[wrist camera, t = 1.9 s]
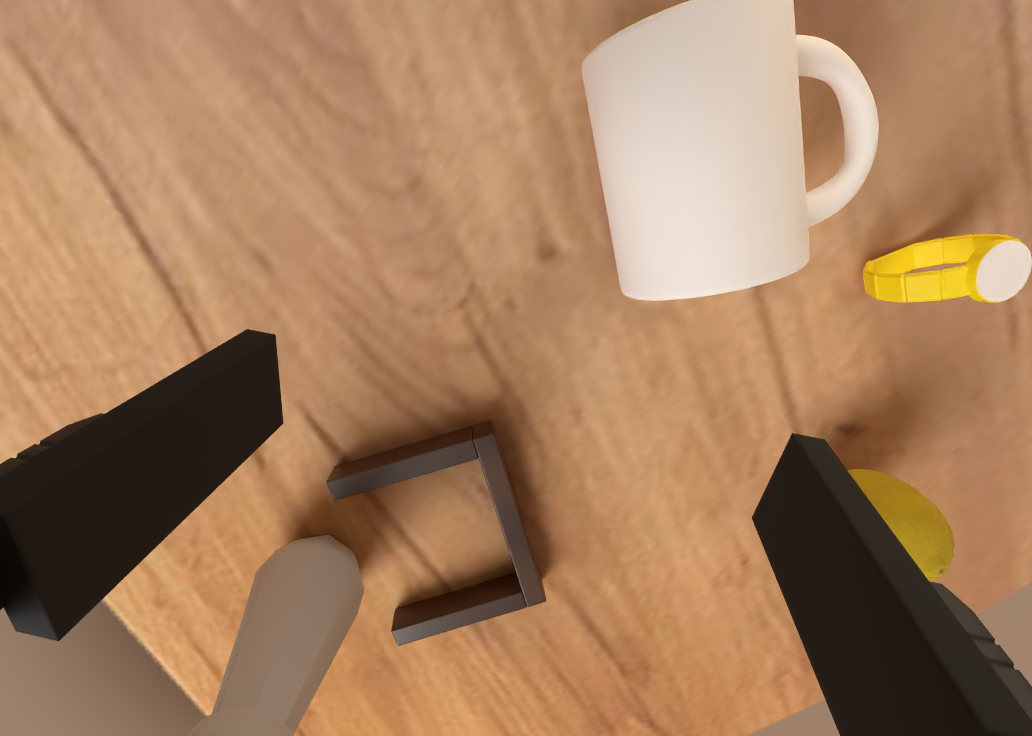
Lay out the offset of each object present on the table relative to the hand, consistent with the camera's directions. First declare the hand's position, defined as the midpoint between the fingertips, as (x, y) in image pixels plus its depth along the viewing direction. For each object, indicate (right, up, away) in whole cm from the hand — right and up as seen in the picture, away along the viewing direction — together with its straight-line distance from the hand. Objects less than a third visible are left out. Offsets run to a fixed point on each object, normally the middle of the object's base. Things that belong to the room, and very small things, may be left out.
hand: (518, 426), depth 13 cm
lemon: (+19, -6, +19) cm, 28 cm away
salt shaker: (-12, -10, +17) cm, 23 cm away
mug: (+9, +12, +13) cm, 20 cm away
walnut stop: (-4, -8, +17) cm, 19 cm away
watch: (+21, +7, +15) cm, 27 cm away
